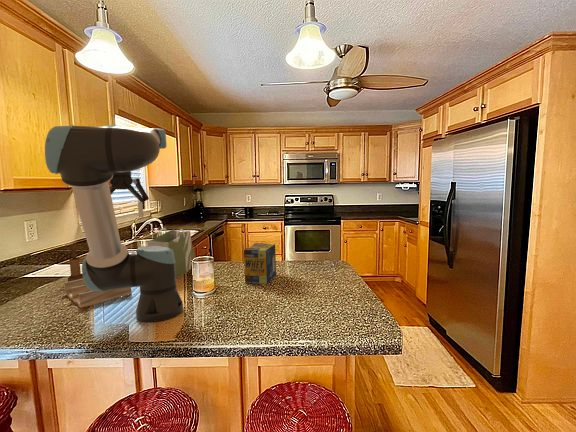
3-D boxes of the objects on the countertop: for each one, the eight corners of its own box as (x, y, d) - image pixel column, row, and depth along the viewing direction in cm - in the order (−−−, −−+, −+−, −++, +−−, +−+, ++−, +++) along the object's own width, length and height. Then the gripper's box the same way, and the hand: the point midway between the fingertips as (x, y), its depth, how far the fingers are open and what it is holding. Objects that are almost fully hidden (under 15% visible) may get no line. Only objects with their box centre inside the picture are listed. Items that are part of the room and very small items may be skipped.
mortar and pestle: (82, 282, 144) (79, 245, 142) (66, 284, 141) (62, 246, 139) (86, 278, 150) (82, 242, 148) (70, 280, 147) (66, 243, 146)
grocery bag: (173, 282, 140) (169, 232, 138) (144, 282, 141) (140, 233, 139) (198, 264, 172) (195, 223, 170) (174, 264, 173) (171, 224, 170)
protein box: (244, 283, 136) (243, 249, 134) (256, 273, 151) (255, 242, 149) (267, 285, 133) (265, 250, 132) (276, 274, 148) (275, 243, 146)
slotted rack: (131, 294, 126) (130, 281, 126) (80, 307, 113) (79, 294, 112) (112, 283, 141) (111, 272, 140) (65, 294, 128) (64, 282, 127)
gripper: (146, 167, 134) (150, 215, 136) (81, 165, 116) (86, 221, 118) (154, 166, 130) (158, 216, 132) (87, 164, 111) (92, 222, 113)
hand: (124, 218), depth 125 cm, fingers open, 13 cm apart
